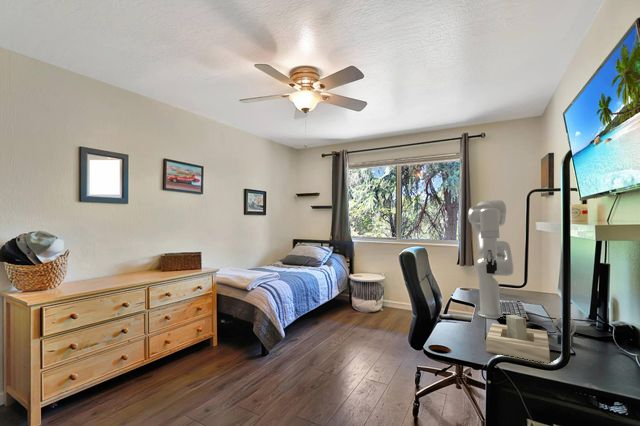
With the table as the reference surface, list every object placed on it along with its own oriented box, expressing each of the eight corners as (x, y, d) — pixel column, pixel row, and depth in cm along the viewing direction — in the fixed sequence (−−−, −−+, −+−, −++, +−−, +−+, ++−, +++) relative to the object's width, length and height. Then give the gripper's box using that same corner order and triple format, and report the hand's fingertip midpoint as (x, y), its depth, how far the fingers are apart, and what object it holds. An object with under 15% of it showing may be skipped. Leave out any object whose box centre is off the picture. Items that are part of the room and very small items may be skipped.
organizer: (492, 334, 136) (492, 323, 137) (547, 343, 125) (546, 331, 125) (486, 351, 119) (485, 338, 119) (550, 363, 107) (549, 349, 107)
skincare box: (528, 349, 119) (526, 318, 120) (518, 350, 119) (516, 319, 119) (517, 343, 126) (515, 314, 126) (507, 344, 125) (505, 314, 126)
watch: (554, 338, 129) (552, 313, 130) (578, 343, 124) (577, 316, 124) (551, 342, 126) (550, 316, 126) (576, 347, 120) (574, 320, 120)
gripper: (483, 234, 148) (485, 269, 147) (478, 235, 134) (480, 274, 133) (501, 234, 144) (503, 270, 143) (497, 235, 130) (499, 275, 129)
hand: (492, 272), depth 138 cm, fingers open, 9 cm apart
